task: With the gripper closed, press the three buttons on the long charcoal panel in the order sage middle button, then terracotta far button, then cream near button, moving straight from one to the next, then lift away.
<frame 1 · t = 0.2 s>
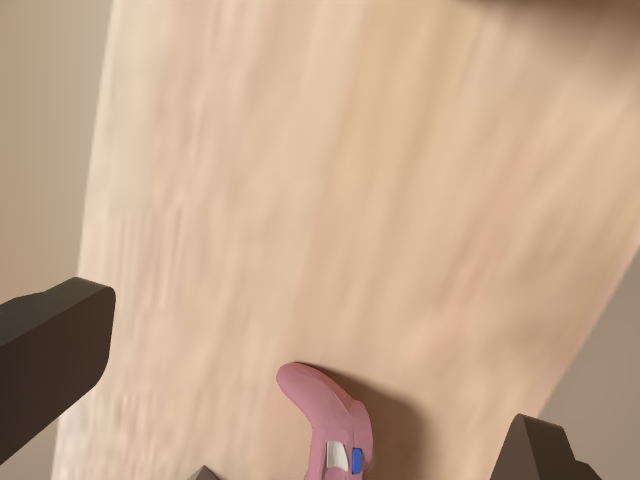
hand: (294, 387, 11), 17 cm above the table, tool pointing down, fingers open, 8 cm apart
video game controller: (324, 435, 32), on the table
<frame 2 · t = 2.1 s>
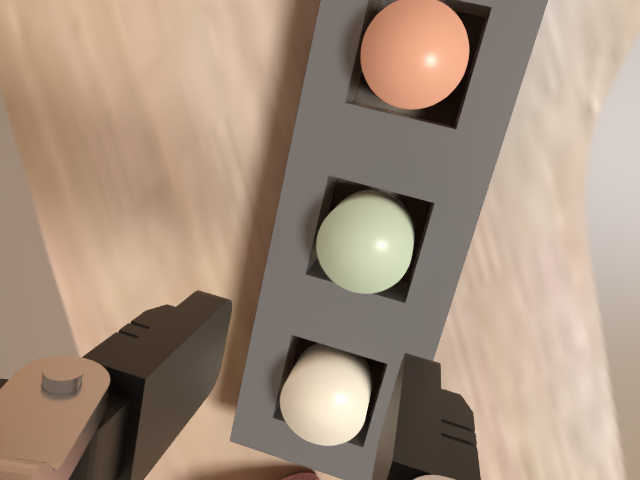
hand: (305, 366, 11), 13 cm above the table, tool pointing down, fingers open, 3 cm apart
terracotta button: (415, 56, 20), point 2 cm above the table, slide at 0.0 cm
sage button: (367, 240, 22), point 2 cm above the table, slide at 0.0 cm
button panel: (374, 226, 24), on the table
cream button: (327, 392, 24), point 3 cm above the table, slide at 0.0 cm
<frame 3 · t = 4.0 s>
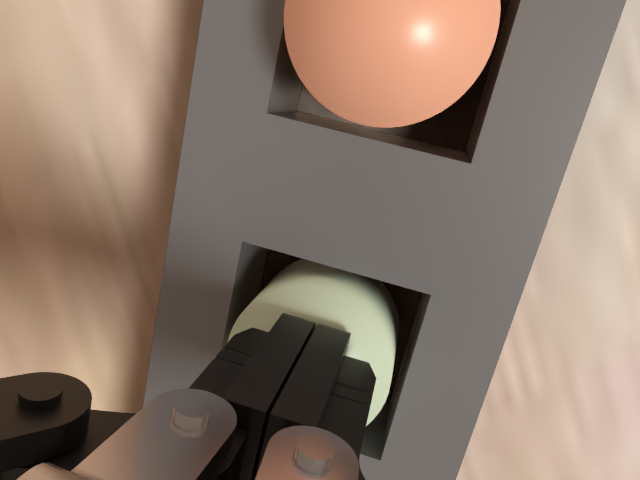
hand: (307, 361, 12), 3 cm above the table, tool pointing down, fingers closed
terracotta button: (393, 27, 10), point 2 cm above the table, slide at 0.0 cm
sage button: (318, 343, 13), point 2 cm above the table, slide at 0.6 cm, touching gripper
button panel: (333, 312, 15), on the table
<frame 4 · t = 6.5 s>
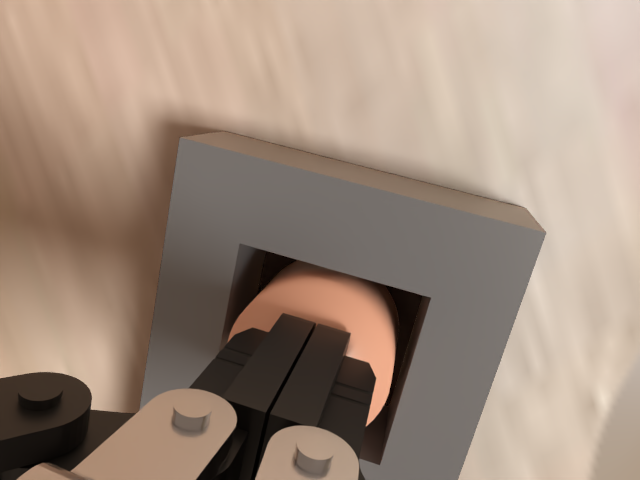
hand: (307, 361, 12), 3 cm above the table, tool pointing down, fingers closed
terracotta button: (318, 343, 13), point 2 cm above the table, slide at 0.7 cm, touching gripper
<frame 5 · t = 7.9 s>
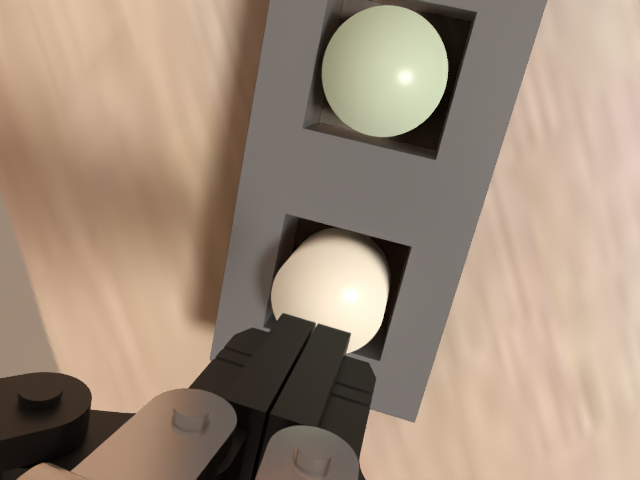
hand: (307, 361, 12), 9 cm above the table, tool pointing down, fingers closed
sage button: (387, 73, 17), point 2 cm above the table, slide at 0.8 cm
button panel: (391, 74, 18), on the table
cream button: (333, 289, 18), point 2 cm above the table, slide at 0.0 cm
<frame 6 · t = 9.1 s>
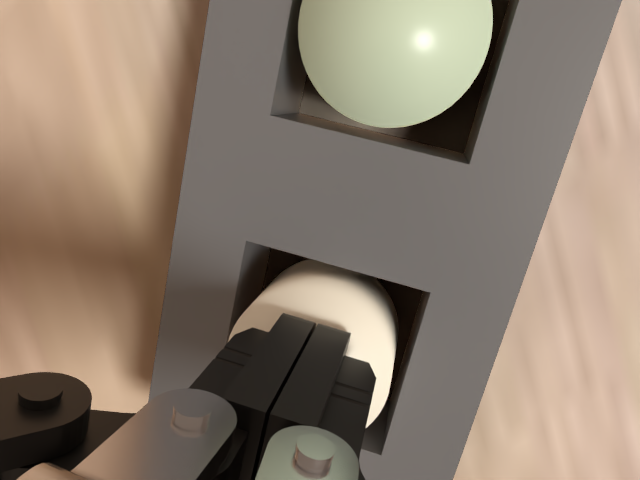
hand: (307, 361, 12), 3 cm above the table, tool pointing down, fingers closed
sage button: (396, 36, 11), point 2 cm above the table, slide at 0.8 cm
button panel: (401, 44, 13), on the table
cream button: (317, 345, 13), point 2 cm above the table, slide at 0.3 cm, touching gripper
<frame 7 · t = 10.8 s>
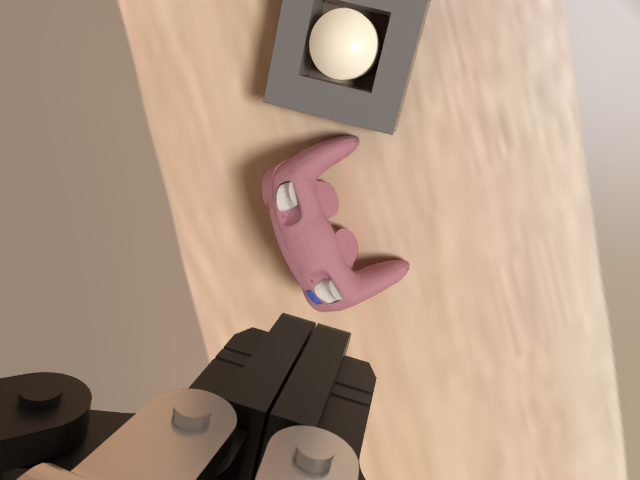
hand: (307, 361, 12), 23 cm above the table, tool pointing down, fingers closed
cream button: (345, 45, 30), point 2 cm above the table, slide at 0.8 cm
video game controller: (343, 215, 35), on the table
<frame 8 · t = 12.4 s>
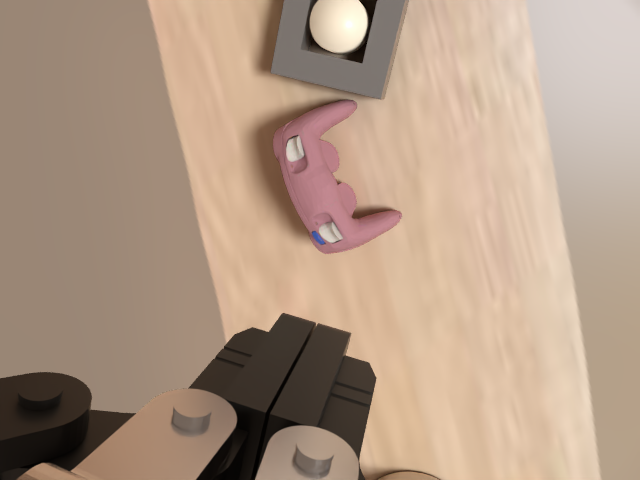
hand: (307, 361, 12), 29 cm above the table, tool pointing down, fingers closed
cream button: (340, 24, 36), point 2 cm above the table, slide at 0.8 cm
video game controller: (343, 173, 40), on the table
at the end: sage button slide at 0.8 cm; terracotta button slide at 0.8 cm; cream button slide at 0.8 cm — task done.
